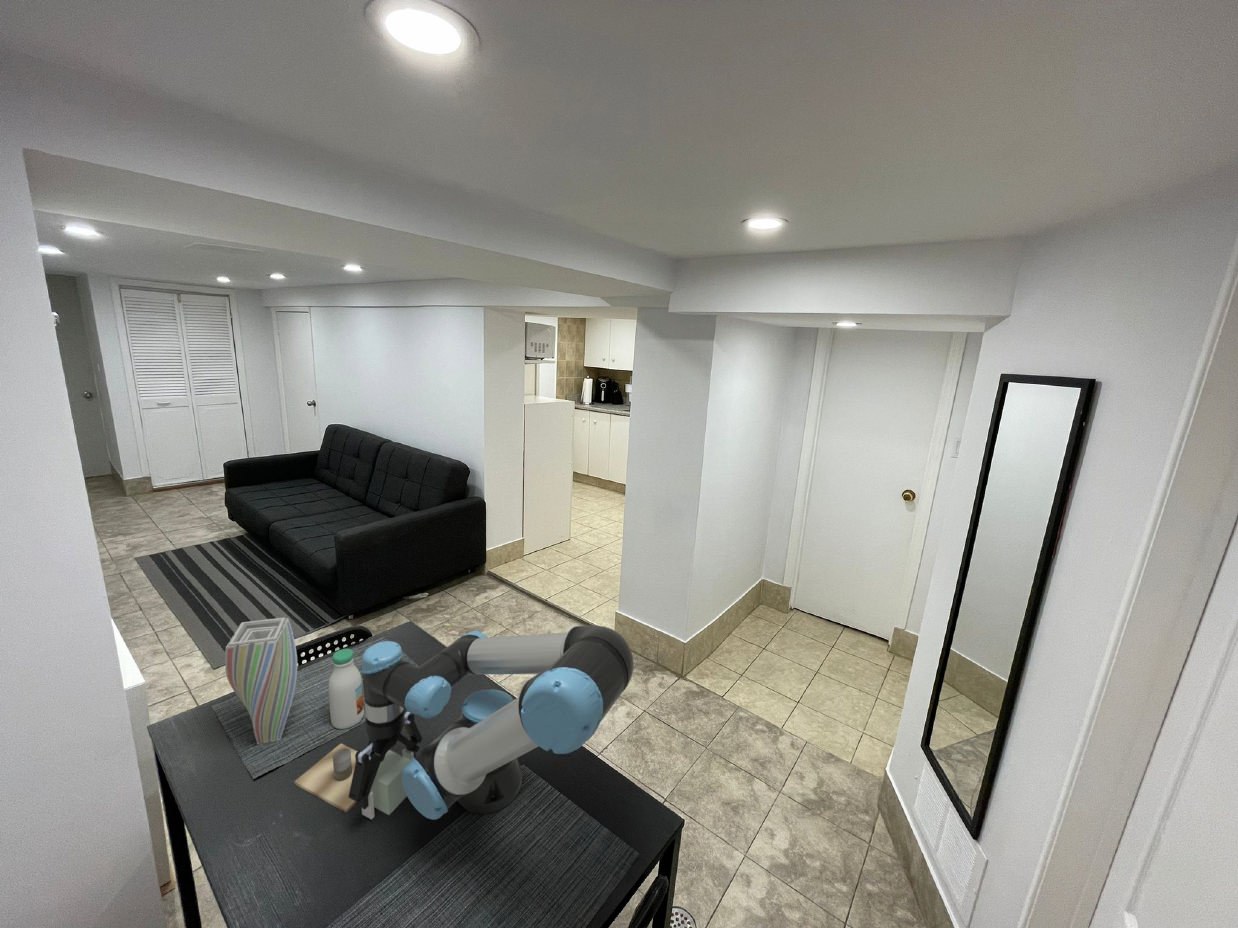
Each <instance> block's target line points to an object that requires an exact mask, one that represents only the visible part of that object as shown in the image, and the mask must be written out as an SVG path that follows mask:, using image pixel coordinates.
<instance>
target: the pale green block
mask: <svg viewBox="0 0 1238 928" xmlns="http://www.w3.org/2000/svg"><path fill="white" fill-rule="evenodd" d="M410 761H411V760H410V759H408V758H405V757H403V756H402V754H399V753H397V752H395V751H392V750H391V749H390V750H389V751H388V752H387V753H386V755H385V758H384V760H383V761H382V762H381V763H380V766H379V768H378V771H377V774H376V777H375V779H374V782H373V785H372V788H371V790H370V791H371V792H373V801H374V809H376V810H378V811H380V812H382V813H384V814H386V815H388V816H390V815H391V814H392V813H393V812H394V811H395V809H396V808H398V806H399V805H400V804H402V802H403V801H404V800H405V799H406V798H408V797H407V795H406V793H405V790H404V788H403V783H402V771H403V769H404V767H405V766H406V765H407V764H408V763H409V762H410Z"/></svg>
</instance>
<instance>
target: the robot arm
mask: <svg viewBox="0 0 1238 928" xmlns="http://www.w3.org/2000/svg"><path fill="white" fill-rule="evenodd" d="M403 657H404V655H403V650H402V647H401V645H400V644H399V643H397V642H396V641H392V640H387V641H385V640H384V641H380V642H377V643H375V644H373V645H371V646H369V647H368V648H366V650H365V651H364V652H363V654H362V658H361V660H362V661H361V663H362V664H361V666H362V667H361V675H362V676H361V678H362V689H363V702H364V716H365V731H366V734H367V737H368V743H367V747H366V748H364V749H363V750H362V751H361V750H358V751H357V750H356V751H357V752H356V754H355V758H356V764H355V769H354V773H353V778H352V783H351V787H350V792H349V798H350V799H352V800H354V801H356V802H357V803H358V806H359V808H361V815H362V816H364V817H366V818H368V819H370V820H373V819H374V818H375V817H376V816H375V807H374V801H373V792H371V791H370V790H371V788H372V785H373V782H374V779H375V777H376V774H377V771H378V768H379V766H380V763H381V762H382V761H383V760H384V758H385V755H386V753H387V752H388V751H389V750H391V749H392V748H393V747H395V746H396V745H397V743H399V744H400V745H402V746H403V747H405V748H403V749H402V751H401V753H402V754H401V756H403V757H405V758H408V759H410V760H411V761H410V762H409V763H408V764H407V765H406V766H405V767H404V769H403V771H402V783H403V788H404V790H405V793H406V795H407V797H406V798H407V799H408V800H409V802H410V803H411V804H412V806H413V807H414V809H416V810H417V812H418V813H420V814H421V815H422V816H423V817H425V818H426V819H429V820H433V821H435V820H438V819H440V818H441V817H442V816H443V815H445V814H446V813H448V812H449V808H451V807H452V805H454V804H455V803H456V802H458V804H459V806H461V807H462V808H463V809H465V810H466V811H468V812H470V813H473V814H477V815H486V814H487V815H488V814H492V813H495V812H498V811H501V810H502V809H504V808H505V807H507V806H509V805H510V804H511V803H512V802H513V801H514V800H515V799H516V798H517V796H518V795H519V792H520V791H521V788H522V783H523V770H522V766H521V763H520V761H519V760H518V758H520V757H522V756H523V755H525V754H527V753H529V752H531V751H532V750H534V749H536V748H538V747H539V748H540V749H542V750H544V751H546V752H549V751H550V750H551V751H552V752H553V753H554V754H558V755H559V754H561V755H564V754H569V753H573V752H574V751H576V750H578V749H579V748H581V747H582V746H584V745H585V743H586V742H588V741H589V740H590V739H591V738H592V736H593V735H594V734H595V732H596V731H598V728H599V726H600V724H601V722H602V721H603V720H604V719H605V717H606V716H607V714H608V713H609V711H610V710H611V709H612V707H613V706H614V704H615V703H616V702H617V701H618V699H619V698H620V696H621V695H622V693H624V691H625V690H626V689H627V687H628V685H629V684H630V681H631V679H632V677H633V673H634V656H633V652H632V649H631V647H630V645H629V643H628V642H627V640H626V639H625V637H623V635H621V634H620V633H619V632H618V631H616V630H614V629H612V628H610V627H607V626H603V625H579V626H577V625H576V626H573V627H571V628H570V629H569V630H568V631H567V632H556V633H555V632H553V633H540V634H539V633H538V634H535V633H534V634H524V635H523V634H521V635H508V636H507V635H506V636H491V637H488V635H486V634H485V633H483V632H480V631H479V630H472V631H470V632H467V633H466V634H464V635H461V636H459V638H457V639H456V640H455V641H454V642H452V643H451V644H449V645H447V647H446V648H444V649H442V650H441V651H440V652H438V653H436V655H434V656H433V657H431V658H430V659H428V660H426V661H425V662H424V663H422V664H421V665H420V666H417V665H415V664H413V663H411V662H409V661H407V660H405V659H403ZM471 675H473V676H475V675H534V676H533V677H531V678H530V679H528V680H526V682H525V683H524V684H523V686H522V688H521V689H520V692H519V695H518V697H517V698H515V699H513V698H512V696H511V695H510V694H508V693H507V692H505V691H502V690H499V689H491V688H490V689H482V690H477V691H475V692H472V693H471V694H470V695H468V696H467V697H466V698H465V699H464V701H463V703H462V706H461V716H460V717H459V718H457V720H456V721H455V722H453V723H452V724H451V725H450V726H448V727H447V728H446V729H445V730H444V731H443V732H442V733H440V734H439V735H438V736H437V737H436V738H435V739H434V740H433V741H431V743H430V744H428V745H427V746H426V747H425V748H423V749H422V750H421V751H420V752H419V750H420V746H418V744H420V743H421V742H422V741H423V737H422V734H421V733H420V729H419V728H418V726H417V724H416V722H415V715H416V716H420V717H422V718H424V719H432V718H434V717H436V716H438V715H440V714H441V712H442V711H443V710H444V707H445V706H446V705H447V704H448V702H449V700H450V698H451V694H452V688H453V687H454V686H456V685H457V684H458V683H460V682H461V681H462V680H464V678H466V677H467V676H471ZM403 728H404V729H405V730H406V732H407V734H408V737H409V739H408V738H407V736H405V735H403V734H402V730H403ZM417 752H419V753H418V754H417V755H416V753H417ZM378 754H379V755H378Z"/></svg>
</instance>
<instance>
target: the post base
mask: <svg viewBox="0 0 1238 928" xmlns="http://www.w3.org/2000/svg"><path fill="white" fill-rule="evenodd" d="M356 752H357V750H356V749H353V748H351V747H350V746H348V745H345V744H343V743H340V744H338V745H337V746H336V747H334V748H333V749H332V750H331V751H329V752H328V753H327V754H326V755H325V756H323V757H322V758H320V760H318V762H316V763H315V764H314V765H312V766H311V767H310V768H308V769H307V770H306V771H305V772H304V773H303V774H301V775H300V776H299V777H298V778H297V779H296V780H294V781H293V782H294V785H295V786H297V787H298V788H300V789H302V790H304V791H306V792H308V793H310V794H312V795H313V796H314V797H317V798H319V799H320V800H322V801H325V802H326V803H327V804H329V805H331V806H333V807H335V808H336V809H338V810H340V811H342V812H343V813H346V814H347V813H348V812H349V811H350V810H351V809H352V808H353V807H354V806H355V805H356V804H358V802H356V801H354V800H352V799H350V798H349V792H350V787H351V783H352V778H353V773H354V769H355V764H356V758H355V754H356Z"/></svg>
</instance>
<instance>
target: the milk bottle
mask: <svg viewBox="0 0 1238 928" xmlns="http://www.w3.org/2000/svg"><path fill="white" fill-rule="evenodd" d="M333 653H334V654H333V655H332V664H333V666H334V667H333V671H332V672H331V674H330V677H329V680H328V688H327V689H328V700H329V714H330V715H329V716H330V722H331V725H332V726H333V727H334V728H335V729H339V730H346V729H349V728H352V727H354V726H356V725H358V724H359V723H360V722H361V721H362V719H363V717H364V716H365V702H364V689H363V678H362V676H361V675H362V674H361V673H360V671H359V669H358V668H357V666H356V665H355V663H354V651H353V650H352V649H351V648H343V649H340V650H337V651H335V652H333Z"/></svg>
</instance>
